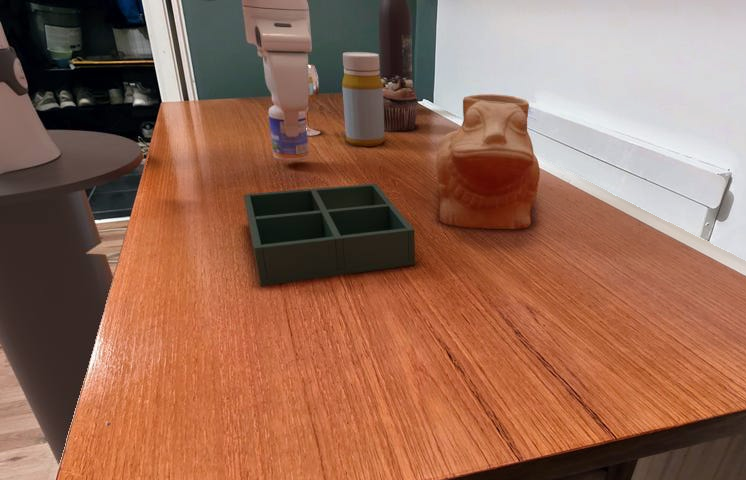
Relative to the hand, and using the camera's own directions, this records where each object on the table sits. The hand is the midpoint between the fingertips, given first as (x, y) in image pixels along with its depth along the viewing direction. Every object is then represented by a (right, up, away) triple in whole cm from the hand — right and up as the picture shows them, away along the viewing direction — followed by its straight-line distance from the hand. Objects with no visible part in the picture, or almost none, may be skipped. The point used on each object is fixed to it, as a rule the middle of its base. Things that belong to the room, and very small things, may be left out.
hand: (288, 130), depth 85 cm
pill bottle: (0, -4, +2) cm, 4 cm away
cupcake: (+12, +10, +29) cm, 33 cm away
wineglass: (-4, +6, +21) cm, 22 cm away
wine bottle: (+10, +19, +43) cm, 48 cm away
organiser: (+12, -20, -22) cm, 33 cm away
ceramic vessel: (+31, -13, -8) cm, 34 cm away
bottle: (+8, +3, +17) cm, 19 cm away
